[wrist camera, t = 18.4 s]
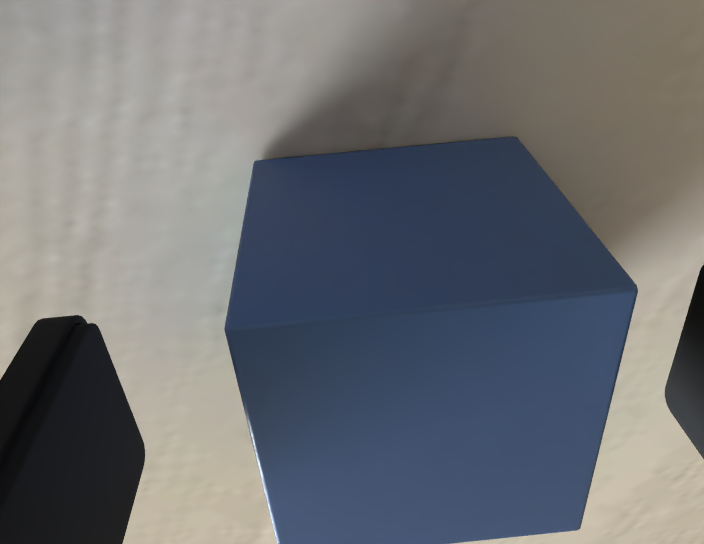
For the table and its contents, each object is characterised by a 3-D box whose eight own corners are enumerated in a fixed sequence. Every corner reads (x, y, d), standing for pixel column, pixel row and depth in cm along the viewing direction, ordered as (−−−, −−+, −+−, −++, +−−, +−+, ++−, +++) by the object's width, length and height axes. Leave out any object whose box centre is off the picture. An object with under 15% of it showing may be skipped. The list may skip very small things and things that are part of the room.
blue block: (253, 159, 10) (222, 327, 6) (517, 134, 10) (642, 287, 6) (288, 358, 13) (281, 562, 9) (499, 337, 13) (580, 531, 9)
